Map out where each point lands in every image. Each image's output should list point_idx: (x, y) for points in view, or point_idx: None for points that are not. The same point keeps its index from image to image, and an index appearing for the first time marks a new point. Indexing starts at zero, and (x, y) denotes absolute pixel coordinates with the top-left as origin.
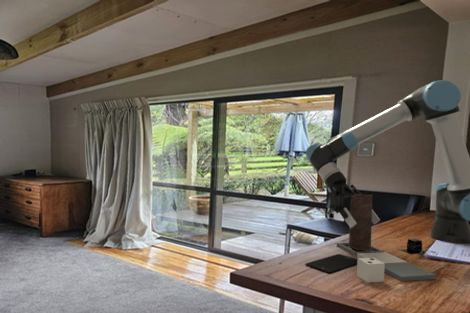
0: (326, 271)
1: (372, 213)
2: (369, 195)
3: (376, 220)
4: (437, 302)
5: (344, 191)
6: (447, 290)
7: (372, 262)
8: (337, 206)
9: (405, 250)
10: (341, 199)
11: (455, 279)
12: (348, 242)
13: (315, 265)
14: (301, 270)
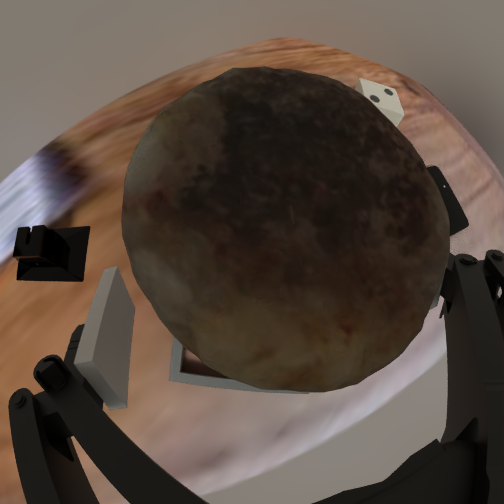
0: (440, 171)
1: (110, 313)
2: (250, 87)
3: (122, 285)
4: (311, 49)
5: (447, 500)
6: (256, 57)
7: (382, 89)
8: (495, 250)
9: (73, 261)
10: (490, 319)
11: (185, 76)
12: (248, 389)
13: (454, 205)
14: (474, 202)
